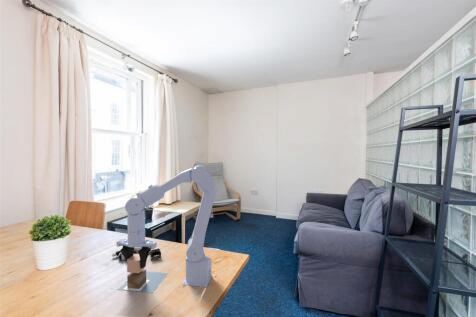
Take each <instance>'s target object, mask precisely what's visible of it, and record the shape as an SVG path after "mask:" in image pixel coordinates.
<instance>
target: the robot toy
mask: <svg viewBox="0 0 476 317" xmlns="http://www.w3.org/2000/svg"><path fill="white" fill-rule="evenodd" d="M140 249H142V247H134V253H133V255H134V254H139V253H138V251H139V250H140ZM111 256H112V258H113V257H118V260H121V261H126V260H125V258H124V256H123V254H122V253H121V252H120V250H118V251H115V252H114V253H112V254H111Z"/></svg>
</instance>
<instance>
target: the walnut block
mask: <svg viewBox="0 0 476 317" xmlns="http://www.w3.org/2000/svg"><path fill="white" fill-rule="evenodd" d="M146 271H147V269H145V268H144V269H143V270H142V271H141V272H140V273H130V272H128V274H127V275H126V276H127V278H126V280H127V281H126V282H127V288H135V289H140V287H141V286H142V285H143V284H144V283H145V282H146Z"/></svg>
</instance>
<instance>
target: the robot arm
mask: <svg viewBox="0 0 476 317" xmlns="http://www.w3.org/2000/svg"><path fill="white" fill-rule="evenodd" d="M192 181H193V183H194V184H197V185H198V186H199V187H200V189H201V190H202V191H203V192H202V196H201V201H200V204H199V209H198V212H197V216H196V220H195V224H194V228H193V230H192V235H191V236H190V237H189V239H188V241H187V250H186V254H185V278H184V279H183V281H182V283H181V285H184V286H194V287H202V288H203V287H204V288H207V287H208V285H209V283H210V281H211V278H212V276H213V275H212V258H211V257H209V256H206V254H205V249H204V246H205V245H204V244H205V240H206V239H205V238H206V234H207V230H208V229H207V228H208V224H209V220H210V218H211V214H212V209H213V205H214V203H215V202H214V201H215V198H216V194H217V187H216V184H215V182H214V178H213V177H212V174H211V172H210V171H209V169H208V168H207V167H206V166H205V165H203V164H197V165H195V166H194V167H190V168H188V169H186V170H183V171H181V172H180V173H178V174H177V175H175V176H173V177H172V178H170V179H169V180H167V181H166V182H164V183H162V184H156V183H155V184H150V185H149V186H148V188H147V189H145V190H144V191H141V192H140V191H139V192H137V193H136V195H135V196H132V198H130V199H128V200H127V201H126V203H125V204H124V209H125V211H126V213H127V238H124V239H123V238H119V239H118V240H116V247H118V248H119V247H122V248H121V249H120V250H119V251H120V252H121V253H122V254H123V256H124V258H125V260H124V261H125V262H126V264H127V259H129V258H130V257H131V256H133V253H134V247H142V249H140V250H139V251H138V253H139V256H140V267H141V268H144V267H145V266H146V267H147V261H148V258H149V256H150V252H151V250H154V249H157V246H158V244H157V241H153V240H149V239H146V215H145V209H146V208H149V207H150V206H151V205H154V204H156V203H157V202H158V201H160V200H162V199H163V198H164V197H165V193H167V192H169V191H171V190H172V189H175V188H176V187H178V186H179V185H182V184H183V183H188V184H190V183H192ZM146 267H145V268H146ZM145 268H144V269H145Z"/></svg>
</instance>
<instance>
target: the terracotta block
mask: <svg viewBox="0 0 476 317" xmlns="http://www.w3.org/2000/svg"><path fill="white" fill-rule="evenodd" d="M146 267H147V265H146V266H145V267H144V268H141V267H140V256H139V254H134V255H133V256H131V257H130V258H129V259H127V263H126V272H127V273H140V272H141V271H142V270H143V269H145V268H146Z"/></svg>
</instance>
